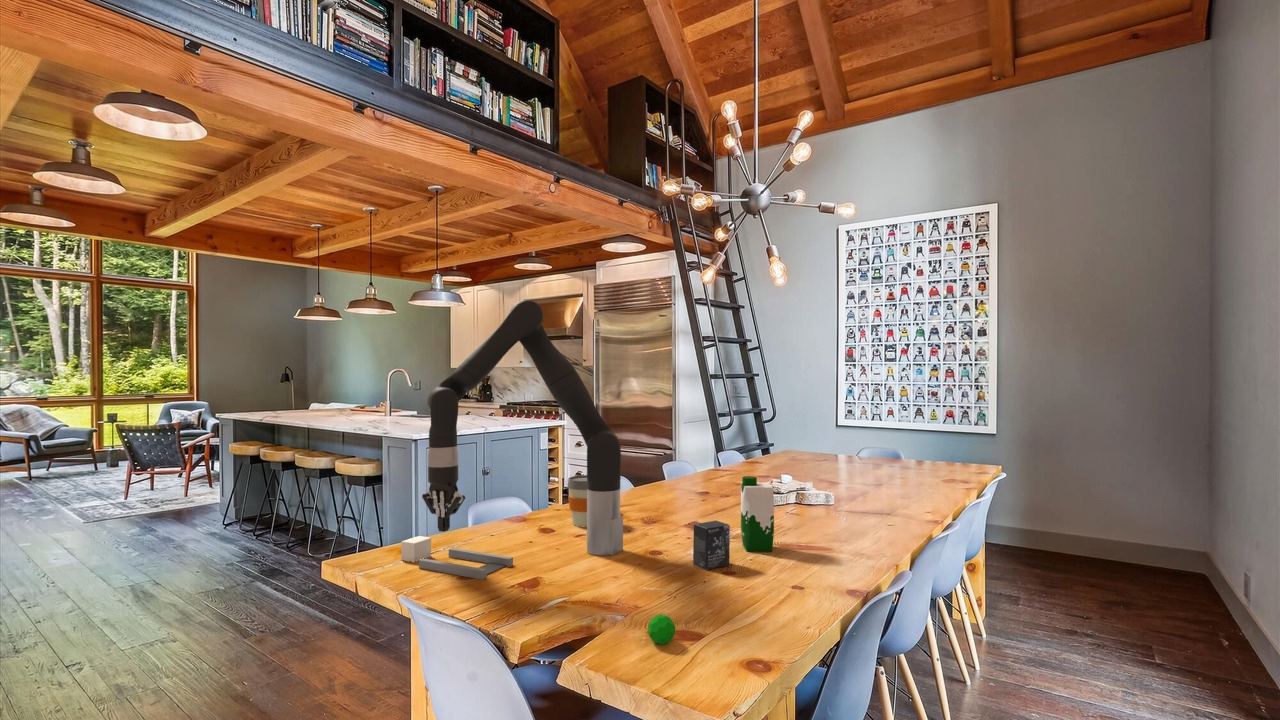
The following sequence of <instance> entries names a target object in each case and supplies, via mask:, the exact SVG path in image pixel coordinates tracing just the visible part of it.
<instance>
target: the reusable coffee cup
mask: <svg viewBox="0 0 1280 720" xmlns="http://www.w3.org/2000/svg"><path fill="white" fill-rule="evenodd" d="M566 487H567V488H568V498H567V499H568V505H569V511H570V512H571V519H572V525H573V526H574V525H576V526H575V527H577V526H585V527H584V528H587V527H586V526H587V474H585V475H583V474H582V475H574V476H569V477H568V479H567V486H566Z"/></svg>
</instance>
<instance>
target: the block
mask: <svg viewBox="0 0 1280 720" xmlns="http://www.w3.org/2000/svg"><path fill="white" fill-rule="evenodd" d="M400 543H401V549H400V551H401V553H400V554H401V555H400V556H401V557H400V558H401V559H400V560H401V561H403V560H404V562H409V561H413V562H412V563H416V562H419V561H418V560H420V559H423V558H425V559H428V558H430V557H432V537H428V536H423V535H422V536H421V535H418V536H414V537H411V538H409V539H406V540H402V541H401V542H400ZM415 561H416V562H415Z"/></svg>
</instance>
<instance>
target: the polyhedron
mask: <svg viewBox="0 0 1280 720" xmlns="http://www.w3.org/2000/svg"><path fill="white" fill-rule="evenodd" d="M647 633H648V636H649V637H650V640H651V641H652V642H653V643H656V645H657V644H658V645H660V644H661V645H662V646H663V645H666V644H669V643H670V642H671V641H672V640H673V638H674V636H675V634H676V625H675V623H674V621H673V619H672V617H670V616H668V615H666V614H658V615H655V616H653V617H651V620H650V622H649V624H648V625H647ZM661 645H660V646H661Z"/></svg>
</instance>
